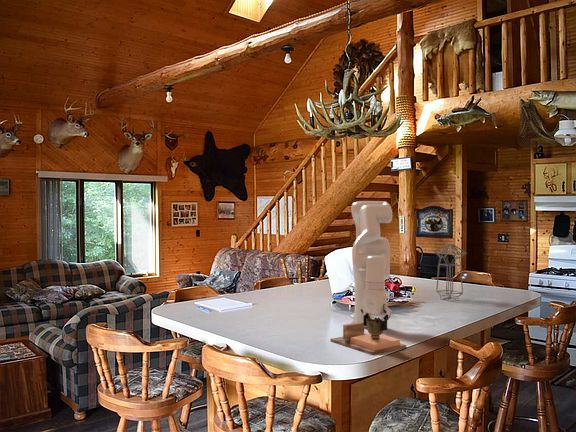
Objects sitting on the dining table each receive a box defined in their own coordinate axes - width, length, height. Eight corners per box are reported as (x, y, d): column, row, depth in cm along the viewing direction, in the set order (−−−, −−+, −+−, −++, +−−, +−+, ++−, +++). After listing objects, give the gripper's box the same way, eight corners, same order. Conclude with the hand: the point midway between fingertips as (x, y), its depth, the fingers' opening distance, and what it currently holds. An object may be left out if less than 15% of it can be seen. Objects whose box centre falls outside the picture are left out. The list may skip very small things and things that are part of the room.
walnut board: (330, 341, 220) (330, 324, 220) (363, 335, 231) (363, 319, 231) (372, 354, 199) (372, 336, 199) (406, 347, 210) (406, 330, 210)
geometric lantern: (431, 298, 328) (432, 243, 328) (450, 297, 334) (451, 243, 335) (448, 302, 313) (449, 244, 314) (468, 301, 320) (469, 244, 320)
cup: (382, 336, 215) (382, 317, 215) (386, 340, 208) (386, 320, 208) (364, 336, 215) (364, 317, 215) (367, 340, 208) (368, 320, 208)
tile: (374, 344, 202) (374, 350, 202) (399, 339, 210) (399, 345, 210) (350, 337, 213) (350, 343, 213) (375, 332, 221) (375, 338, 221)
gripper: (354, 284, 216) (353, 325, 216) (384, 289, 202) (384, 333, 202) (367, 282, 220) (366, 323, 221) (397, 287, 206) (397, 330, 207)
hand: (375, 327), depth 211 cm, fingers open, 9 cm apart
